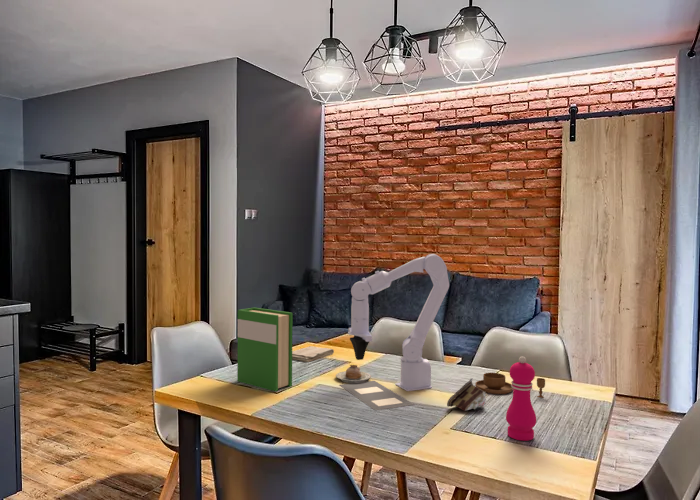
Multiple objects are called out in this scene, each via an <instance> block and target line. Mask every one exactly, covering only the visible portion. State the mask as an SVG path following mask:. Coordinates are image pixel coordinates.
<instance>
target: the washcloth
mask: <svg viewBox="0 0 700 500" xmlns="http://www.w3.org/2000/svg"><path fill="white" fill-rule="evenodd" d="M334 351H335V350H334V349H333V348H327V347H319V346H318V347H317V346H312V345H311V346H307V347H302V348H300V349H296V350H294V351H293V350H292V361H293V360H294V361H299V362H305V363H309V362H313V361H317V360H320V359H324V358H326V357H328V356H331V355H333V354H334V353H335V352H334Z"/></svg>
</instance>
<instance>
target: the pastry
mask: <svg viewBox="0 0 700 500" xmlns="http://www.w3.org/2000/svg"><path fill="white" fill-rule="evenodd" d="M335 377H336V378H337V379H339V380H341V382H343V383H345V384H350V383H363V382H367V381H369V379H371V377H372V376H371V374H370V373H368V372H365V371H362V370H361V371H360V367H359V366H358V365H357V364H351V365H349V367H347V369H346V370H345V371H339V372H338V373H336V374H335Z"/></svg>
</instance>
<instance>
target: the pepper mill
mask: <svg viewBox="0 0 700 500" xmlns="http://www.w3.org/2000/svg"><path fill="white" fill-rule="evenodd" d="M509 376H510V378H511V379H512V381H511V383H510V384H512V385H511V387H512V388H513V390H512V400H511V401H510V403H509V406H508V408H507V410H506V413H505V420H506V422H507V424H508V426H507V436H508V437H509V438H511V439H514V440H517V441H521V442H522V441H526V442H527V441H532V440H533V439H534V438H535V430H534V429H533V428H534V427H535V426H536V424H537V415H536V410H534V407H533V404H532V401H531V400H532V399H531V390H533V385H534V384H533V381H534V379H535V378H536V372H535V369H534V367H533V366H532V365H531V364H529V363H528V362H527V358H526V357H525V356H522V355H521V356H520V357H519V358H518V362H515V363H513V364H512V365H511V366H510V368H509Z"/></svg>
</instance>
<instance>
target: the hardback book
mask: <svg viewBox="0 0 700 500" xmlns="http://www.w3.org/2000/svg"><path fill="white" fill-rule="evenodd" d="M293 317H294V316H293V312H289V311H283V310H276V309H267V308H263V307H262V308H259V307H250V308H249V307H248V308H241V309H237V369H236V371H237V373H236V374H237V376H236V378H237V379H236V381H237V382H240V383H244V384H247V385H251V386H253V387H257V388H262V389H265V390H269V391H272V392H279V389H280V388H284V387H289V388H290V387H292V386H293V359H292V351H293V326H294V325H293V323H294V322H293Z"/></svg>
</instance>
